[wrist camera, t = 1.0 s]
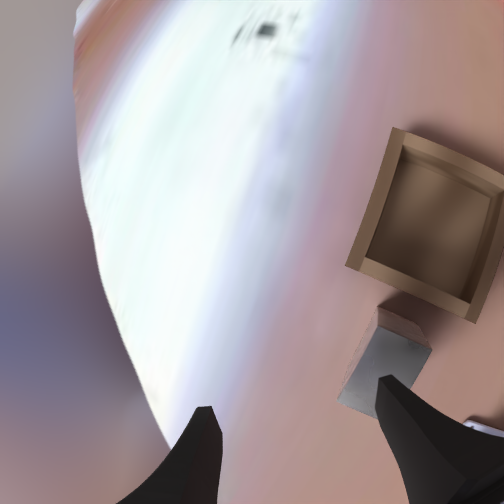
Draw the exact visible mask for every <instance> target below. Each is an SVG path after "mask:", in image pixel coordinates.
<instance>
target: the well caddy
mask: <svg viewBox="0 0 504 504" xmlns="http://www.w3.org/2000/svg"><path fill="white" fill-rule="evenodd" d="M503 247H504V175H502V174H500V173H499V172H497V171H495V170H493V169H491V168H489V167H487V166H485V165H483V164H481V163H479V162H477V161H475V160H473V159H471V158H469V157H467V156H464V155H462V154H460V153H458V152H456V151H453V150H451V149H449V148H446V147H444V146H442V145H439V144H437V143H435V142H432V141H430V140H427V139H424V138H422V137H419V136H417V135H414V134H411V133H409V132H406V131H403V130H400V129H397V128H394V127H392V131H391V134H390V138H389V141H388V145H387V148H386V151H385V155H384V158H383V161H382V164H381V167H380V170H379V174H378V177H377V180H376V183H375V186H374V189H373V192H372V195H371V197H370V200H369V203H368V206H367V209H366V212H365V214H364V217H363V220H362V223H361V225H360V228H359V231H358V233H357V236H356V239H355V241H354V244H353V246H352V249H351V251H350V254H349V256H348V259H347V261H346V264H345V266H347V267H349V268H352V269H354V270H356V271H359V272H361V273H363V274H365V275H368V276H370V277H372V278H375V279H377V280H379V281H382V282H384V283H386V284H388V285H391V286H393V287H395V288H397V289H400V290H402V291H404V292H407V293H409V294H411V295H413V296H415V297H418V298H420V299H422V300H424V301H427V302H429V303H431V304H433V305H435V306H438V307H440V308H442V309H444V310H446V311H449V312H451V313H453V314H455V315H457V316H459V317H462V318H464V319H466V320H468V321H470V322H472V323H475V324H476V321H477V319H478V317H479V315H480V312H481V310H482V307H483V305H484V303H485V300H486V297H487V295H488V292H489V290H490V287H491V284H492V281H493V279H494V276H495V273H496V270H497V267H498V264H499V260H500V257H501V254H502V251H503Z"/></svg>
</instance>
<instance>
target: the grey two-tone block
mask: <svg viewBox="0 0 504 504" xmlns="http://www.w3.org/2000/svg"><path fill="white" fill-rule="evenodd" d="M431 351H432V348H431V347H430V345H429V343H428V341H427V340H426V338H425V336H424V335H423V333H422V331H421V330H420V328H419V326H418V325H417V323H415V322H412V321H410V320H408V319H406V318H403V317H401V316H399V315H397V314H394V313H392V312H390V311H388V310H385V309H383V308H381V307H379V306H377V308H376V310H375V312H374V314H373V317H372V319H371V321H370V323H369V325H368V327H367V329H366V331H365V333H364V335H363V337H362V339H361V341H360V343H359V345H358V347H357V349H356V351H355V353H354V355H353V357H352V359H351V360H350V362H349V365H348V368H347V371H346V374H345V378H344V381H343V384H342V387H341V390H340V392H339V395H338V398H337V402H339V403H341V404H343V405H346V406H348V407H350V408H352V409H355V410H357V411H359V412H362V413H364V414H366V415H369V416H371V417H373V418H376V419H378V417H377V414H376V411H375V402H376V395H377V387H378V378H379V377H383V376H386V375H390V374H392V375H393V376H394V377H396V378H397V379H398V380H399V381H400V382H401V383H403V384H404V385H405V386H406V387H407V388H409V389H410V388H411V387H412V385H413V384H414V382H415V380H416V378H417V377H418V375H419V373H420V372H421V370H422V368H423V366H424V364H425V363H426V361H427V359H428V357H429V355H430V353H431Z"/></svg>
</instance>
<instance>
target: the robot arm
mask: <svg viewBox="0 0 504 504" xmlns="http://www.w3.org/2000/svg"><path fill="white" fill-rule="evenodd" d="M375 411H376V414H377V417H378V420H379V423H380V426H381V429H382V431H383V433H384V435H385V437H386V439H387V441H388V444H389V446H390V448H391V450H392V452H393V454H394V456H395V459H396V461H397V463H398V465H399V468H400V471H401V474H402V477H403V481H404V484H405V488H406V492H407V495H408V499H409V504H504V431H502V430H498V429H495V428H492V427H489V426H486V425H483V424H480V423H477V422H474V421H471V420H467V421H465V422H464V423H463V424H461V423H459V422H457V421H455V420H453V419H451V418H449V417H448V416H446V415H444V414H443V413H441V412H439V411H438V410H436V409H435V408H433V407H432V406H430V405H429V404H428V403H426V402H425V401H424V400H422V399H421V398H420V397H418V396H417V395H416V394H415V393H413V392H412V391H411V390H410V389H409V388H407V387H406V386H405V385H404V384H403V383H401V382H400V381H399V380H398V379H397V378H396V377H394V376H393V375H392V374H390V375H386V376H383V377H379V378H378V387H377V395H376V402H375ZM471 426H473V427H472V428H470V427H471ZM222 454H223V438H222V431H221V429H220V427H219V424H218V422H217V419H216V417H215V414H214V411H213V409H212V406H205V407H197V408H196V410H195V412H194V414H193V415H192V417H191V419H190V421H189V423H188V425H187V426H186V428H185V430H184V431H183V433H182V435H181V436H180V438H179V439H178V441H177V443H176V444H175V446H174V447H173V448H172V450H171V451H170V453H169V454H168V455H167V457H166V458H165V459H164V461H163V462H162V463H161V464H160V465H159V467H158V468H157V469H156V470H155V471H154V472H153V473H152V474H151V475H150V476H149V477H148V479H146V480H145V481H144V482H143V483H142V484H141V485H140V486H139V487H138V488H137V489H135V490H134V491H133V492H131V493H130V494H129V495H128V496H126V497H125V498H124V499H122V500H121V501H119V502H118V503H116V504H217V495H218V486H219V479H220V471H221V463H222Z"/></svg>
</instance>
